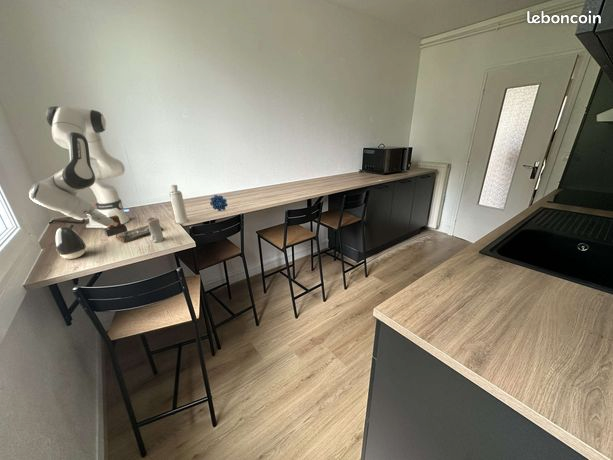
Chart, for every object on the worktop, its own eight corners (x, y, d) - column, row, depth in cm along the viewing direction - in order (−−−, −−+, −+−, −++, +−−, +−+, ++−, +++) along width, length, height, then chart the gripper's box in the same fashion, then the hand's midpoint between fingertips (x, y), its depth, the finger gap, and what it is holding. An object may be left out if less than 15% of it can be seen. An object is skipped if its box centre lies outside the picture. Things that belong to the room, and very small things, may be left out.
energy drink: (161, 237, 138) (155, 216, 133) (165, 239, 135) (160, 219, 130) (151, 240, 134) (144, 219, 130) (155, 243, 131) (149, 222, 127)
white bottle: (175, 223, 156) (165, 184, 146) (177, 220, 162) (168, 181, 152) (186, 223, 157) (177, 183, 147) (188, 219, 163) (180, 181, 153)
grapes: (213, 214, 171) (210, 197, 167) (210, 211, 177) (207, 195, 172) (230, 211, 177) (227, 194, 172) (227, 208, 182) (224, 192, 177)
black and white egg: (94, 250, 125) (82, 222, 119) (77, 261, 115) (64, 231, 109) (73, 251, 125) (61, 222, 119) (55, 262, 115) (40, 231, 109)
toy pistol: (124, 242, 133) (123, 240, 132) (116, 237, 139) (115, 234, 139) (163, 230, 147) (162, 228, 146) (153, 226, 154) (153, 223, 153)
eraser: (108, 236, 116) (102, 220, 112) (105, 234, 118) (99, 219, 115) (127, 231, 122) (122, 215, 118) (124, 229, 124) (119, 214, 121)
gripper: (93, 207, 102) (127, 222, 113) (79, 199, 114) (111, 213, 125) (83, 221, 101) (119, 235, 112) (70, 211, 112) (103, 224, 123)
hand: (115, 223), depth 118 cm, fingers closed on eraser, 3 cm apart
